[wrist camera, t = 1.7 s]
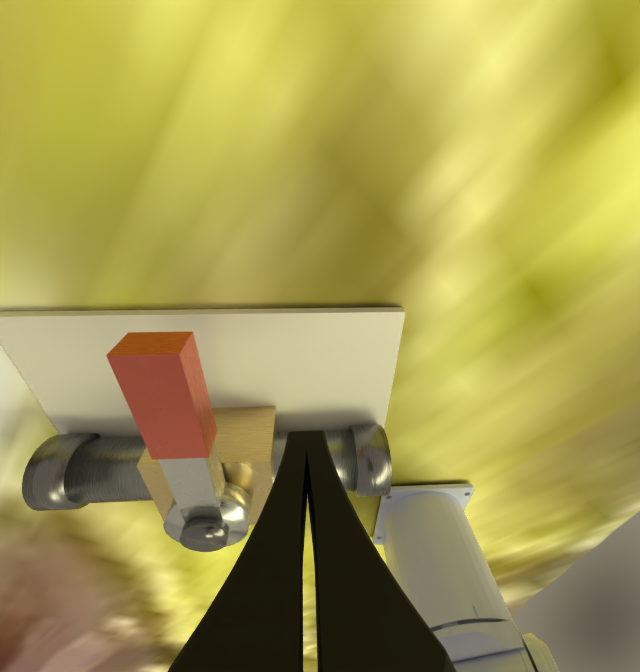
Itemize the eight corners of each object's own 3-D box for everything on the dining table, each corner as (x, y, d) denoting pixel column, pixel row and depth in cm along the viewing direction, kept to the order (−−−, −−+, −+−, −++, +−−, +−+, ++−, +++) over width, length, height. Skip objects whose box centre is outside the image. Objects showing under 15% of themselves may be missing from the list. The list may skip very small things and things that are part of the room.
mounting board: (372, 477, 25) (374, 484, 25) (103, 488, 24) (99, 495, 24) (402, 307, 17) (405, 311, 16) (-7, 311, 16) (-18, 316, 15)
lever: (255, 520, 19) (250, 558, 17) (183, 523, 18) (170, 562, 17) (219, 331, 11) (204, 363, 10) (101, 332, 11) (63, 365, 9)
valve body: (370, 456, 24) (383, 518, 20) (97, 466, 23) (53, 533, 19) (379, 396, 20) (398, 456, 16) (59, 405, 19) (-4, 470, 15)
